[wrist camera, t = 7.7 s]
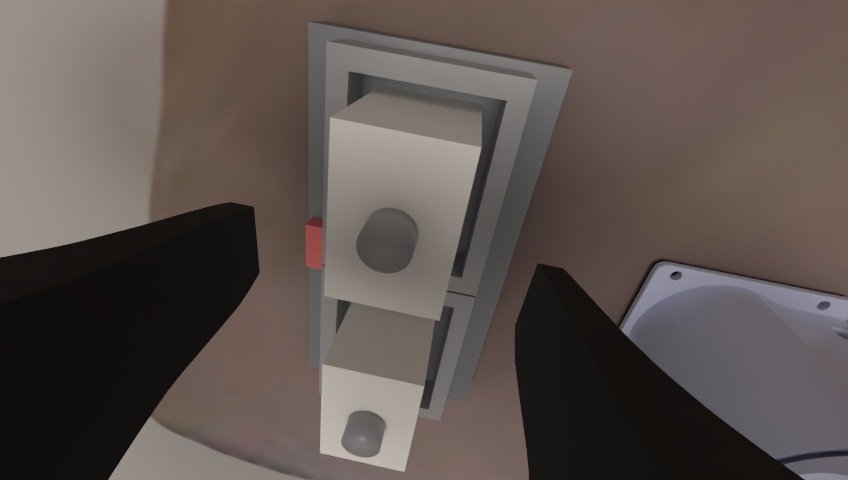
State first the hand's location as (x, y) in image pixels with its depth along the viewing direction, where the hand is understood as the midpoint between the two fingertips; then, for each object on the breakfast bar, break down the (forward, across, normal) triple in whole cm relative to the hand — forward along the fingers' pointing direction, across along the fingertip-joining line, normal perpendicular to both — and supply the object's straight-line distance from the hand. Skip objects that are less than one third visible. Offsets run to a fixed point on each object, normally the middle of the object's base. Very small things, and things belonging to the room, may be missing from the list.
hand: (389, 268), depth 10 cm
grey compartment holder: (+9, 0, +5) cm, 11 cm away
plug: (+8, 0, 0) cm, 8 cm away
